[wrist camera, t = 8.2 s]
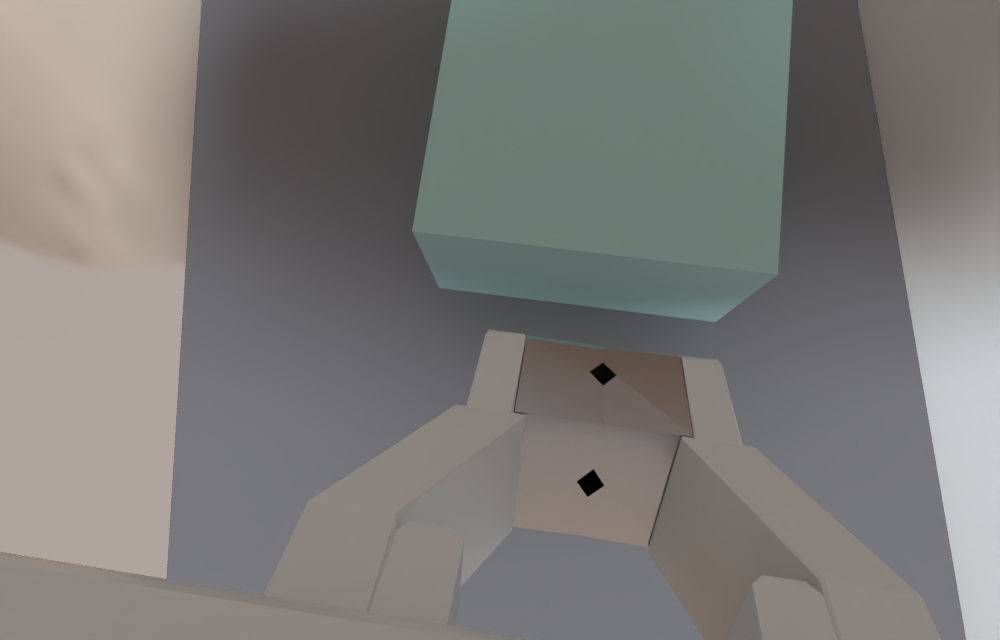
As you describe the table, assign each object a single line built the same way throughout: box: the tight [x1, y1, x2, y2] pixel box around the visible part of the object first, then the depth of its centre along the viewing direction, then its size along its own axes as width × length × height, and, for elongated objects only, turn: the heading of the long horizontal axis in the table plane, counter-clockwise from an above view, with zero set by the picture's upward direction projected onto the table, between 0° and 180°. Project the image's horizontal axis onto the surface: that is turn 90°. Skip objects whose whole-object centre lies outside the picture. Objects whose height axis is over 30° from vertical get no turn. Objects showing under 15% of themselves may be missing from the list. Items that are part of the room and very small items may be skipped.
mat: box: [167, 0, 966, 640], centre depth 16 cm, size 17×18×1 cm
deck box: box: [412, 0, 793, 322], centre depth 15 cm, size 6×4×8 cm
